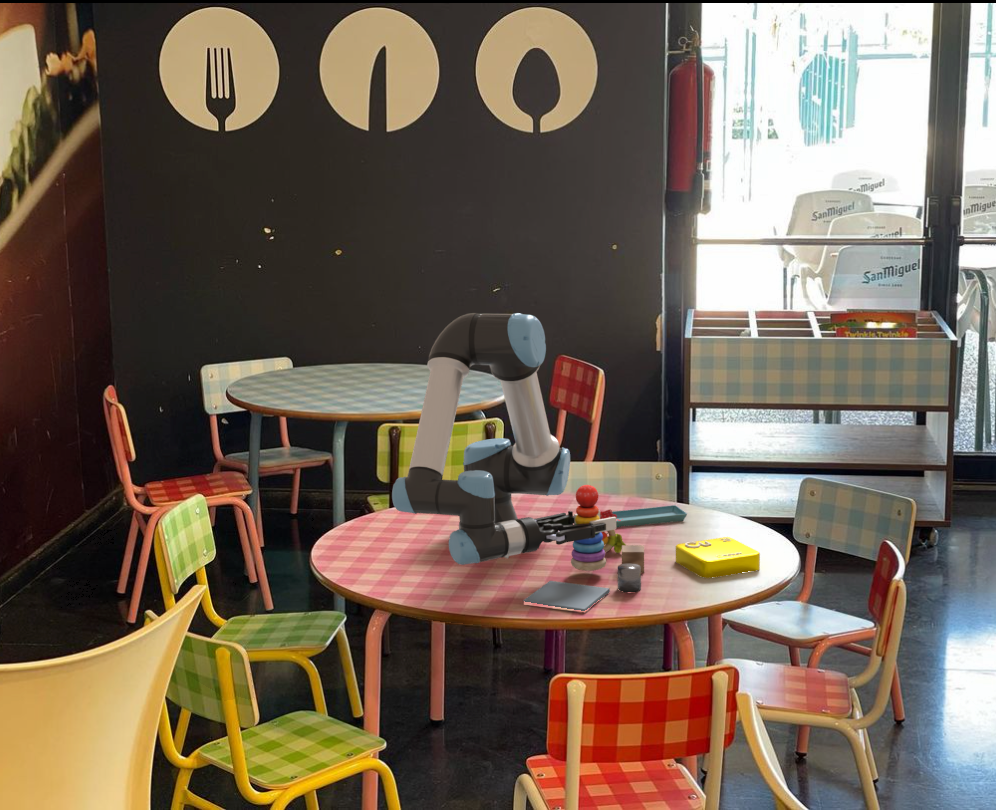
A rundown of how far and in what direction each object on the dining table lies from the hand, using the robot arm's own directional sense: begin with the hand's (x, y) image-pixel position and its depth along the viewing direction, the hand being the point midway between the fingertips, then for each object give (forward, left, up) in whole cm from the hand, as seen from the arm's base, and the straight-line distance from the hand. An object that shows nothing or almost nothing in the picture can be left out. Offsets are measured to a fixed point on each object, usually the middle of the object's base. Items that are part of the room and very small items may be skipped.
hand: (607, 519), depth 300 cm
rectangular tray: (-9, +40, -13) cm, 43 cm away
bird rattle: (-5, +12, -12) cm, 18 cm away
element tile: (+22, +13, -13) cm, 28 cm away
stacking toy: (-3, -4, -10) cm, 11 cm away
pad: (-1, -21, -12) cm, 24 cm away
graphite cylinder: (+9, -10, -12) cm, 18 cm away
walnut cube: (+5, +3, -12) cm, 13 cm away
